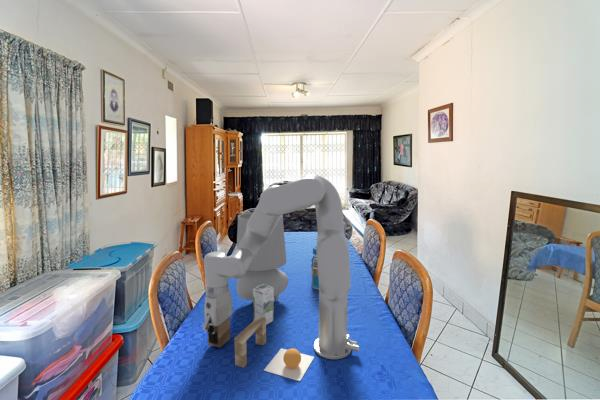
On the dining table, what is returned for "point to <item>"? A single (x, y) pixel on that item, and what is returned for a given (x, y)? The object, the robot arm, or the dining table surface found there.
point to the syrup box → (263, 302)
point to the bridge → (241, 338)
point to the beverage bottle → (314, 270)
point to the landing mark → (281, 369)
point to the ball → (292, 358)
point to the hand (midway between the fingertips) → (219, 337)
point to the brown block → (221, 333)
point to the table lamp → (264, 262)
